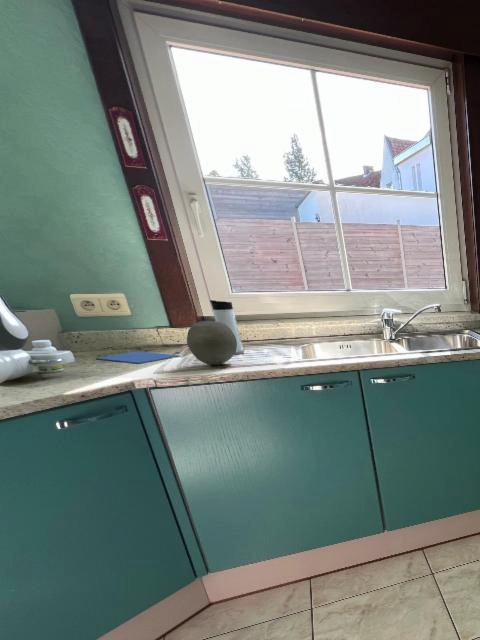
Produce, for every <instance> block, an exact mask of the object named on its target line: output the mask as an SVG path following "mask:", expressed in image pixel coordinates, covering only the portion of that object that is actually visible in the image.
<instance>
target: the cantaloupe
mask: <svg viewBox="0 0 480 640" xmlns="http://www.w3.org/2000/svg"><path fill="white" fill-rule="evenodd" d="M186 335H187V336H186V345H187V347H188V350H189V351H190V352H191V354H192V355H193V356H194V357H195V359H196V360H198V361H199V362H201V363H203V364H206V365H209V366H220V365H223V364H225V363H227V362H228V361H229V360H231V359H232V358H233V357H234V356H235V355H234V354H235V352H236V349H237V341H236V337H235V335H234V333H233V332H232V330H231V329H230V328H229V327H228V326H227V325H225V324H223V323H221V322H217V321H215V320H202V321H199V322H195V323H194V324H192V325H191V326H190V328H189V329H188V331H187V334H186Z"/></svg>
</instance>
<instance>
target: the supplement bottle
mask: <svg viewBox="0 0 480 640" xmlns="http://www.w3.org/2000/svg"><path fill="white" fill-rule="evenodd" d="M31 344H32V346H33V348H32V349H31V351H58V350H57V348H56V347H55V346H52V341H51V340H50V339H38V340H37V339H36V340H32V341H31ZM37 369H38V371H39V372H40V373H41V374H50V373H58V372H63V371H64V366H63V365H59V366H42V367H37Z"/></svg>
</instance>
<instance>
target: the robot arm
mask: <svg viewBox="0 0 480 640" xmlns="http://www.w3.org/2000/svg"><path fill="white" fill-rule="evenodd" d="M29 338H30V332H29V328H28V327H27V326H26V324H25V323H24V322H23V320H22V319H20V318H19V317H18V315H16V313H15V312H14V310H13V309H12V308H11V306H10V305H9V303H8V302H7V301H6V299H5V297H4V296H3V294H2V292H0V384H1V383H3V382H5V381H10V380H14V379H18V378H22V377H25V376H28V375H31V374H32V373H33V372H34V369H35V368H36V367H37V368H38V367H42V366H59V365H68V364H73V363H74V362H75V360H76V359H75V356H74V354H73V352H72V351H71V350H57V351H32V350H24V349H23V348H24V347H25V346H26V345H27V343H28V341H29Z"/></svg>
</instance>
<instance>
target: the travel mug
mask: <svg viewBox="0 0 480 640" xmlns="http://www.w3.org/2000/svg"><path fill="white" fill-rule="evenodd" d="M209 302H210V304H211V307H212V312H213V317H214V321H217V322H221V323H223V324H225V325H227V326H228V327H229V328H230V329H231V330H232V332H233V333H234V335H235V337H236V341H237V349H236V352H235V354H234V355H233V356H238V355H243V354H244V348H243V343H242V339H241V335H240V331H239V327H238V323H237V318H236V314H235V310H234V307H233V303H232V301H221V300H214V299H210V300H209Z"/></svg>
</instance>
